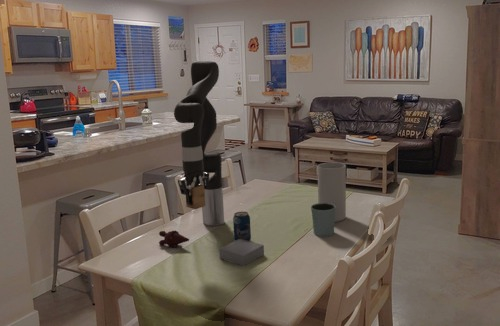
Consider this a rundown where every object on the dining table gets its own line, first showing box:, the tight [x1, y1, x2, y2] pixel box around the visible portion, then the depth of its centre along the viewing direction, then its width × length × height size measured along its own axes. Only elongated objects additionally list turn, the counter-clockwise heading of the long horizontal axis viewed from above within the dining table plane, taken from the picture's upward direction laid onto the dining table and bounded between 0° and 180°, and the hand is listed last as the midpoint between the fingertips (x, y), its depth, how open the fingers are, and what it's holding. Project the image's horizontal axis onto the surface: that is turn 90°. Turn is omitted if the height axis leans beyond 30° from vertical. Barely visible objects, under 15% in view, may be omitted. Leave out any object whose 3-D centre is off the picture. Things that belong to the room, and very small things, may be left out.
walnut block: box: [185, 185, 205, 210], centre depth 174 cm, size 5×5×8 cm
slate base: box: [218, 239, 265, 267], centre depth 179 cm, size 12×12×4 cm
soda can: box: [232, 211, 252, 241], centre depth 193 cm, size 7×7×12 cm
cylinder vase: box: [317, 162, 347, 223], centre depth 215 cm, size 12×12×25 cm
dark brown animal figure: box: [158, 230, 190, 248], centre depth 191 cm, size 7×7×15 cm
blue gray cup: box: [310, 202, 336, 238], centre depth 198 cm, size 10×10×12 cm
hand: (195, 202), depth 174 cm, fingers closed on walnut block, 5 cm apart
